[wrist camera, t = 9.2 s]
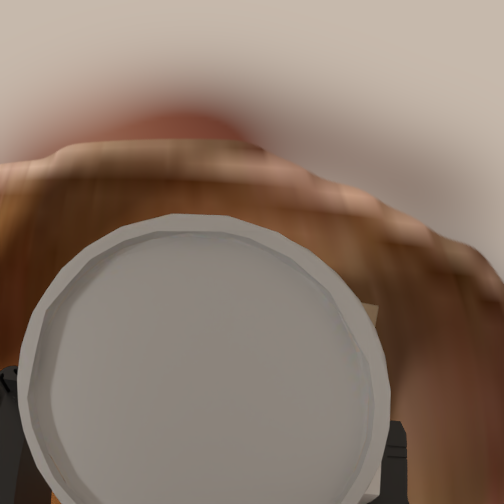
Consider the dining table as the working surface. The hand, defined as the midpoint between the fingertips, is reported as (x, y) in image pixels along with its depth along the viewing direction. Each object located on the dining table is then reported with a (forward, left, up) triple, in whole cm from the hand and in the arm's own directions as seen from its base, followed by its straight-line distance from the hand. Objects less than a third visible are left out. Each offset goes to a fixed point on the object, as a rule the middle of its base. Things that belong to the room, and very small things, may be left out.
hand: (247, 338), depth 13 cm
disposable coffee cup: (-1, -3, -5) cm, 6 cm away
